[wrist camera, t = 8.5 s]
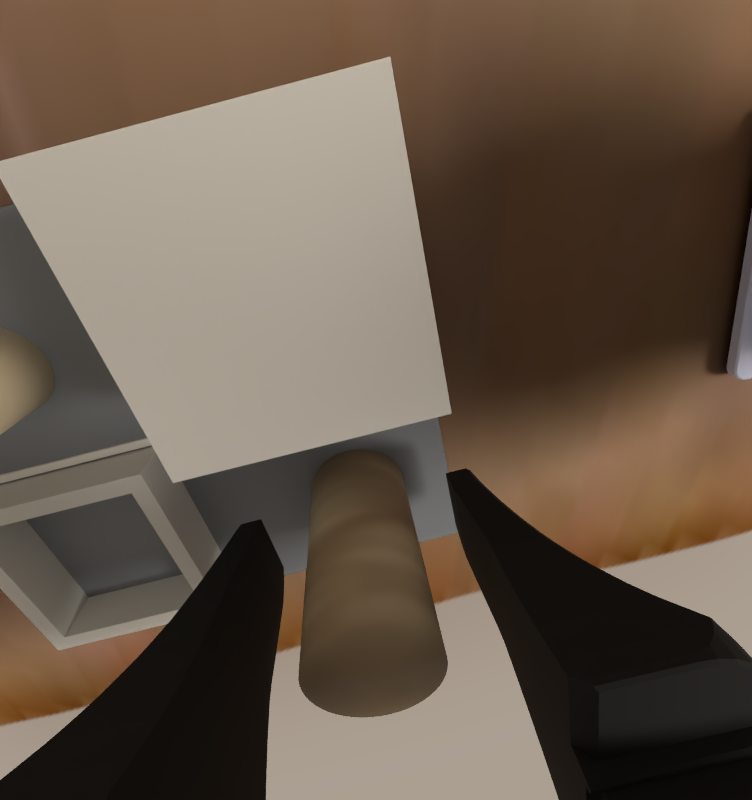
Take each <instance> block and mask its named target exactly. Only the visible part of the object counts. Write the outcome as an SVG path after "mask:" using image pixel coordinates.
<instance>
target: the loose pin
mask: <svg viewBox="0 0 752 800" xmlns="http://www.w3.org/2000/svg"><path fill="white" fill-rule="evenodd" d="M447 666H448V661H447V655H446V651H445V647H444V643H443V639H442V635H441V631H440V627H439V623H438V619H437V615H436V611H435V606H434V602H433V598H432V594H431V590H430V586H429V582H428V578H427V574H426V570H425V566H424V561H423V557H422V553H421V549H420V545H419V541H418V537H417V533H416V529H415V525H414V521H413V517H412V512H411V508H410V504H409V500H408V496H407V492H406V488H405V484H404V480H403V476H402V473H401V471H400V469H399V467H398V466H397V465H396V464H395V463H394V462H393V461H392V460H391V459H390V458H388V457H387V456H385V455H383V454H381V453H379V452H376V451H372V450H366V449H356V450H349V451H345V452H342V453H339V454H337V455H335V456H333V457H331V458H330V459H328V460H327V461H326V462H325V463H324V464H323V465H322V466H321V467H320V468H319V470H318V471H317V473H316V475H315V477H314V481H313V487H312V501H311V514H310V528H309V542H308V555H307V569H306V582H305V596H304V610H303V623H302V637H301V651H300V664H299V684H300V687H301V690H302V692H303V693H304V695H305V696H306V697H307V698H308V699H309V700H310V701H311V702H312V703H314V704H315V705H316V706H318V707H320V708H322V709H324V710H326V711H328V712H331V713H335V714H338V715H343V716H350V717H374V716H382V715H388V714H392V713H395V712H399V711H402V710H405V709H407V708H409V707H412V706H414V705H416V704H418V703H419V702H421V701H423V700H424V699H426V698H427V697H428V696H430V695H431V694H432V693H433V692H434V691H435V690H436V689H437V688H438V687H439V686H440V684H441V683H442V681H443V679H444V677H445V675H446V672H447Z"/></svg>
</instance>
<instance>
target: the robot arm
mask: <svg viewBox="0 0 752 800" xmlns="http://www.w3.org/2000/svg"><path fill="white" fill-rule="evenodd" d="M727 372H728V373H729V375H731V376H734V377H736V378H738V379H741V380H745V379H750V378H752V210H751V217H750V223H749V229H748V236H747V242H746V248H745V255H744V261H743V267H742V273H741V280H740V286H739V292H738V299H737V305H736V311H735V317H734V324H733V330H732V336H731V343H730V349H729V355H728V362H727ZM446 478H447V483H448V488H449V493H450V498H451V503H452V508H453V513H454V518H455V524H456V527H457V530H458V533H459V536H460V540H461V543H462V546H463V549H464V551H465V554H466V557H467V560H468V562H469V564H470V566H471V568H472V571H473V573H474V575H475V577H476V580H477V582H478V584H479V586H480V588H481V590H482V593H483V595H484V597H485V599H486V601H487V604H488V606H489V608H490V610H491V612H492V615H493V617H494V619H495V621H496V623H497V625H498V627H499V630H500V632H501V635H502V637H503V640H504V642H505V644H506V647H507V650H508V653H509V656H510V659H511V661H512V664H513V667H514V670H515V673H516V676H517V678H518V681H519V684H520V687H521V690H522V693H523V695H524V698H525V701H526V704H527V707H528V710H529V713H530V716H531V718H532V721H533V724H534V727H535V730H536V733H537V736H538V739H539V742H540V745H541V748H542V751H543V753H544V756H545V759H546V763H547V765H548V768H549V771H550V774H551V777H552V780H553V783H554V786H555V789H556V792H557V795H558V798H559V800H752V658H751V657H750V656H749V655H748V654H747V652H746V651H745V650H744V649H743V648H742V647H741V646H740V645H739V644H738V643H737V642H736V641H735V640H734V639H733V638H732V637H731V636H730V635H729V634H727V632H725V631H724V630H723V629H722V628H721V627H720V626H719V625H718V624H717V623H716V622H715V621H713V619H712V618H710V617H708V616H705V615H702V614H700V613H697V612H695V611H692V610H690V609H687V608H684V607H682V606H679V605H677V604H674V603H671V602H669V601H667V600H664V599H661V598H659V597H657V596H654V595H652V594H650V593H647V592H645V591H643V590H641V589H639V588H637V587H634V586H632V585H630V584H627V583H626V582H624V581H622V580H620V579H618V578H616V577H614V576H612V575H610V574H608V573H606V572H605V571H603V570H601V569H599V568H597V567H595V566H593V565H591V564H589V563H588V562H586V561H584V560H583V559H581V558H579V557H577V556H576V555H574V554H572V553H571V552H569V551H568V550H566V549H564V548H563V547H561V546H560V545H558V544H557V543H555V542H554V541H552V540H551V539H549V538H548V537H546V536H545V535H543V534H542V533H541V532H539V531H538V530H536V529H535V528H534V527H532V526H531V525H530V524H528V523H527V522H526V521H524V520H523V519H522V518H521V517H519V516H518V515H517V514H516V513H514V512H513V511H512V510H511V509H510V508H509V507H507V506H506V505H505V504H504V503H503V502H502V501H500V500H499V499H498V498H497V497H496V496H495V495H494V494H493V493H492V492H491V491H489V490H488V489H487V488H486V487H485V486H484V485H483V484H482V483H481V482H480V481H479V480H478V479H477V478H476V477H475V475H474V474H473V473H472V472H471V471H470V470H468V469H462V470H458V471H454V472H449V473H446ZM283 596H284V567H283V564H282V562H281V560H280V558H279V556H278V554H277V552H276V550H275V548H274V545H273V543H272V541H271V539H270V537H269V535H268V533H267V531H266V529H265V526H264V524H263V522H262V520H261V519H260V520H256V521H252V522H248V523H244V524H241V525H240V526H239V528H238V529H237V530H236V532H235V533H234V535H233V536H232V538H231V539H230V540H229V542H228V543H227V545H226V546H225V548H224V549H223V551H222V552H221V553H220V555H219V556H218V558H217V559H216V561H215V562H214V563H213V565H212V566H211V568H210V569H209V570H208V572H207V573H206V575H205V576H204V578H203V579H202V580H201V582H200V583H199V584H198V586H197V587H196V588H195V590H194V591H193V592H192V594H191V595H190V596H189V597H188V599H187V600H186V601H185V603H184V604H183V605H182V606H181V608H180V609H179V610H178V612H177V613H176V614H175V615H174V617H173V618H172V619H171V620H170V622H169V623H168V624H167V625H166V626H165V628H164V629H163V630H162V631H161V632H160V633H159V634H158V636H157V637H156V638H155V639H154V640H153V641H152V642H151V643H150V645H149V646H148V647H147V648H146V649H145V650H144V651H143V652H142V653H141V654H140V656H139V657H138V658H137V659H136V660H135V661H134V662H133V663H132V664H131V665H130V666H129V667H128V668H127V669H126V670H125V671H124V672H123V673H122V674H121V675H120V676H119V677H118V678H117V679H116V680H115V681H114V682H113V683H112V684H111V685H110V686H109V687H108V688H107V689H106V690H105V691H104V692H103V693H102V694H101V695H100V696H99V697H98V698H96V699H95V700H94V701H93V702H92V703H91V704H90V705H89V706H88V707H87V708H86V709H85V710H83V711H82V712H81V713H80V714H79V715H78V716H77V717H76V718H75V719H73V720H72V721H71V722H70V723H69V724H68V725H67V726H65V728H63V729H62V730H61V731H60V732H59V733H57V734H56V735H55V736H54V737H53V738H52V739H50V740H49V741H48V742H47V743H46V744H45V745H43V746H42V747H41V748H40V749H39V750H37V751H36V752H35V753H33V754H32V755H31V756H30V757H28V758H27V759H26V760H25V761H24V762H22V763H21V764H20V765H19V766H17V767H16V768H15V769H14V770H13V771H11V772H10V773H9V774H7V775H6V776H5V777H4V778H2V779H1V780H0V800H266V768H267V739H268V720H269V703H270V702H269V701H270V692H271V683H272V676H273V670H274V663H275V656H276V650H277V643H278V636H279V629H280V622H281V615H282V608H283Z"/></svg>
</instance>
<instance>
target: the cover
mask: <svg viewBox="0 0 752 800" xmlns="http://www.w3.org/2000/svg"><path fill="white" fill-rule="evenodd" d="M0 179H1V181H2V183H3V185H4V186H5V188H6V190H7V192H8V193H9V195H10V197H11V199H12V200H13V202H14V204H15V206H16V207H17V209H18V211H19V213H20V215H21V216H22V218H23V220H24V222H25V223H26V225H27V227H28V229H29V230H30V232H31V234H32V236H33V237H34V239H35V241H36V243H37V244H38V246H39V248H40V250H41V252H42V253H43V255H44V257H45V259H46V260H47V262H48V264H49V266H50V267H51V269H52V271H53V273H54V274H55V276H56V278H57V280H58V281H59V283H60V285H61V287H62V288H63V290H64V292H65V294H66V296H67V297H68V299H69V301H70V303H71V304H72V306H73V308H74V310H75V311H76V313H77V315H78V317H79V318H80V320H81V322H82V324H83V325H84V327H85V329H86V331H87V333H88V334H89V336H90V338H91V340H92V341H93V343H94V345H95V347H96V348H97V350H98V352H99V354H100V355H101V357H102V359H103V361H104V362H105V364H106V366H107V368H108V370H109V371H110V373H111V375H112V377H113V378H114V380H115V382H116V384H117V385H118V387H119V389H120V391H121V392H122V394H123V396H124V398H125V399H126V401H127V403H128V405H129V407H130V408H131V410H132V412H133V414H134V415H135V417H136V419H137V421H138V422H139V424H140V426H141V428H142V429H143V431H144V433H145V435H146V436H147V438H148V440H149V442H150V444H151V445H152V447H153V449H154V451H155V452H156V454H157V456H158V458H159V459H160V461H161V463H162V465H163V466H164V468H165V470H166V472H167V473H168V475H169V477H170V479H171V480H172V482H173V483H176V482H180V481H184V480H188V479H192V478H196V477H200V476H204V475H208V474H212V473H216V472H220V471H224V470H228V469H232V468H236V467H240V466H244V465H248V464H252V463H256V462H260V461H264V460H268V459H272V458H276V457H280V456H284V455H288V454H292V453H296V452H300V451H304V450H308V449H312V448H316V447H320V446H324V445H328V444H332V443H336V442H340V441H344V440H348V439H352V438H356V437H360V436H364V435H368V434H372V433H376V432H380V431H384V430H388V429H392V428H396V427H400V426H404V425H408V424H412V423H416V422H420V421H425V420H429V419H433V418H437V417H441V416H445V415H449V414H452V413H451V407H450V401H449V395H448V389H447V384H446V378H445V372H444V366H443V360H442V355H441V349H440V343H439V337H438V331H437V325H436V320H435V314H434V308H433V302H432V296H431V291H430V285H429V279H428V273H427V267H426V261H425V256H424V250H423V244H422V238H421V232H420V227H419V221H418V215H417V209H416V203H415V197H414V192H413V186H412V180H411V174H410V168H409V163H408V157H407V151H406V145H405V139H404V133H403V128H402V122H401V116H400V110H399V104H398V99H397V93H396V87H395V81H394V75H393V69H392V64H391V58H390V57H386V58H383V59H379V60H375V61H371V62H368V63H364V64H360V65H357V66H353V67H349V68H345V69H342V70H338V71H334V72H330V73H327V74H323V75H319V76H315V77H312V78H308V79H304V80H301V81H297V82H293V83H289V84H286V85H282V86H278V87H274V88H271V89H267V90H263V91H259V92H256V93H252V94H248V95H245V96H241V97H237V98H233V99H230V100H226V101H222V102H218V103H215V104H211V105H207V106H203V107H200V108H196V109H192V110H189V111H185V112H181V113H177V114H174V115H170V116H166V117H162V118H159V119H155V120H151V121H147V122H144V123H140V124H136V125H133V126H129V127H125V128H121V129H118V130H114V131H110V132H106V133H103V134H99V135H95V136H92V137H88V138H84V139H80V140H77V141H73V142H69V143H65V144H62V145H58V146H54V147H50V148H47V149H43V150H39V151H36V152H32V153H28V154H24V155H21V156H17V157H13V158H9V159H6V160H2V161H0Z"/></svg>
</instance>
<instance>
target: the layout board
mask: <svg viewBox="0 0 752 800" xmlns="http://www.w3.org/2000/svg"><path fill="white" fill-rule="evenodd" d="M356 449H366V450H372V451H376V452H379V453H381V454H383V455H385V456H387V457H388V458H390V459H391V460H392V461H393V462H394V463H395V464H396V465H397V466H398V467H399V469H400V471H401V473H402V476H403V480H404V484H405V488H406V492H407V496H408V500H409V504H410V508H411V512H412V517H413V521H414V525H415V529H416V533H417V537H418V541H419V542H423V541H427V540H431V539H435V538H439V537H444V536H448V535H452V534H456V533H458V530H457V527H456V524H455V518H454V513H453V508H452V503H451V498H450V493H449V488H448V483H447V478H446V473H449V472H448V467H447V462H446V457H445V451H444V446H443V441H442V436H441V431H440V425H439V420H438V417H437V418H433V419H429V420H425V421H420V422H416V423H412V424H408V425H404V426H400V427H396V428H392V429H388V430H384V431H380V432H376V433H372V434H368V435H364V436H360V437H356V438H352V439H348V440H344V441H340V442H336V443H332V444H328V445H324V446H320V447H316V448H312V449H308V450H304V451H300V452H296V453H292V454H288V455H284V456H280V457H276V458H272V459H268V460H264V461H260V462H256V463H252V464H248V465H244V466H240V467H236V468H232V469H228V470H224V471H220V472H216V473H212V474H208V475H204V476H200V477H196V478H192V479H188V480H184V481H180V482H176V483H173V482H172V480H171V479H170V477H169V475H168V473H167V472H166V470H165V468H164V466H163V465H162V463H161V461H160V459H159V458H158V456H157V454H156V452H155V451H154V449H153V447H152V445H151V444H150V442H149V440H148V438H147V436H146V435H145V433H144V431H143V429H142V428H141V426H140V424H139V422H138V421H137V419H136V417H135V415H134V414H133V412H132V410H131V408H130V407H129V405H128V403H127V401H126V399H125V398H124V396H123V394H122V392H121V391H120V389H119V387H118V385H117V384H116V382H115V380H114V378H113V377H112V375H111V373H110V371H109V370H108V368H107V366H106V364H105V362H104V361H103V359H102V357H101V355H100V354H99V352H98V350H97V348H96V347H95V345H94V343H93V341H92V340H91V338H90V336H89V334H88V333H87V331H86V329H85V327H84V325H83V324H82V322H81V320H80V318H79V317H78V315H77V313H76V311H75V310H74V308H73V306H72V304H71V303H70V301H69V299H68V297H67V296H66V294H65V292H64V290H63V288H62V287H61V285H60V283H59V281H58V280H57V278H56V276H55V274H54V273H53V271H52V269H51V267H50V266H49V264H48V262H47V260H46V259H45V257H44V255H43V253H42V252H41V250H40V248H39V246H38V244H37V243H36V241H35V239H34V237H33V236H32V234H31V232H30V230H29V229H28V227H27V225H26V223H25V222H24V220H23V218H22V216H21V215H20V213H19V211H18V209H17V207H16V206H15V204H12V205H8V206H5V207H1V208H0V589H1V590H2V591H3V592H4V593H5V594H6V595H7V596H8V597H9V599H10V600H11V601H12V602H13V603H14V604H15V605H16V606H17V607H18V608H19V609H20V610H21V611H22V612H23V613H24V614H25V616H26V617H27V618H28V619H29V620H30V621H31V622H32V623H33V624H34V625H35V626H36V627H37V628H38V629H39V630H40V631H41V633H42V634H43V635H44V636H45V637H46V638H47V639H48V640H49V641H50V642H51V643H52V644H53V645H54V646H55V647H56V648H57V650H62V649H66V648H70V647H74V646H78V645H83V644H87V643H91V642H95V641H99V640H103V639H107V638H111V637H115V636H120V635H124V634H128V633H132V632H136V631H140V630H144V629H148V628H152V627H157V626H161V625H165V624H168V623H169V622H170V620H171V619H172V618H173V617H174V615H175V614H176V613H177V612H178V610H179V609H180V608H181V606H182V605H183V604H184V603H185V601H186V600H187V599H188V597H189V596H190V595H191V594H192V592H193V591H194V590H195V588H196V587H197V586H198V584H199V583H200V582H201V580H202V579H203V578H204V576H205V575H206V573H207V572H208V570H209V569H210V568H211V566H212V565H213V563H214V562H215V561H216V559H217V558H218V556H219V555H220V553H221V552H222V551H223V549H224V548H225V546H226V545H227V543H228V542H229V540H230V539H231V538H232V536H233V535H234V533H235V532H236V530H237V529H238V528H239V526H240V525H241V524H244V523H248V522H252V521H256V520H260V519H261V520H262V522H263V524H264V526H265V529H266V531H267V533H268V535H269V537H270V539H271V541H272V543H273V545H274V548H275V550H276V552H277V554H278V556H279V558H280V560H281V562H282V564H283V567H284V575H288V574H292V573H296V572H300V571H304V570H306V569H307V555H308V542H309V528H310V514H311V501H312V487H313V481H314V477H315V475H316V473H317V471H318V470H319V468H320V467H321V466H322V465H323V464H324V463H325V462H326V461H327V460H328V459H330V458H331V457H333V456H335V455H337V454H339V453H342V452H345V451H349V450H356Z"/></svg>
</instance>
